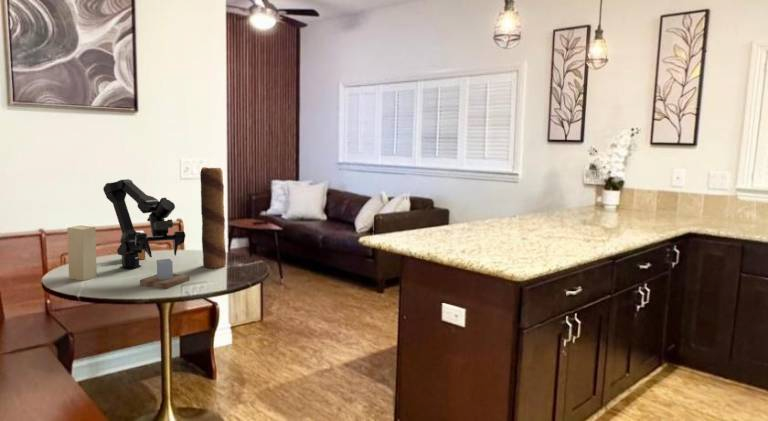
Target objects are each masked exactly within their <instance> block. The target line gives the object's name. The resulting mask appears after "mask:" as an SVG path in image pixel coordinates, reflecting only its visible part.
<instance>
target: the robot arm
mask: <svg viewBox="0 0 768 421" xmlns="http://www.w3.org/2000/svg"><path fill="white" fill-rule="evenodd" d="M102 190H103V193H104V195H105V197H106V199H107V200H109V201H110V202H111V203H112V206H113V208H114V211H115V215H116V218H117V221H118V223H119V224H118V225H119V227H120V230H121V237H120V245H119V247H118V248H117V255H118V256H121V266H119V267H118V268H119V269H127V270H133V269H136V268H140V267H142V265H141V264H140V260H139V257H138V253H142V249H143V250H144V251H145V254H147V256H148V257H149V258H153V257H152V254H153V253H152V251H151V246H150V242H162V241H163V242H164V241H172V242H173V245H172V246H173V254H174V256H177V252H178V248H179V246H181V245H182V244H184V242H185V239H186V232H185V231H184V230H179V231H176V230H175V231H173V232H174V233H173V234H171V235H169V229H172V228H173V227H174V222H173V219H171V218H170V219H168V217H169V216H170V215H171V213H172V212H173V211H174V210H175V209H176V206H175V203H174V202H173V201H172V200H170V199H167V197H161V198H160V200H158V199H157V198H155V197H154V196H152V195H148V194H146V193H145V192H144V191H143V190H142V189H141V188H139V187H138V186H137V185H136V184H135V183H134V182H133V180H131V179H130V178H127V179H120V180H117V181H113V182H106V184H105V185H104V186H103V189H102ZM127 195H128V196H129V197H131V199H132V200H133V201H135V203H136V204H137V208H138V209H139V210H140V212H141V213H142V214H149V215H148V217H147V219H146V221H147V222H149V224H150V230H151V235H148V236H147V233H146V232H145V233H142V234H141V233H140V232H136V231H137V230H135V228H134V225H133V222H132V218H131V216H130V213H129V210H128V207H127V206H128V205H127V203H126V196H127ZM166 218H167V220H165V219H166Z"/></svg>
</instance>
